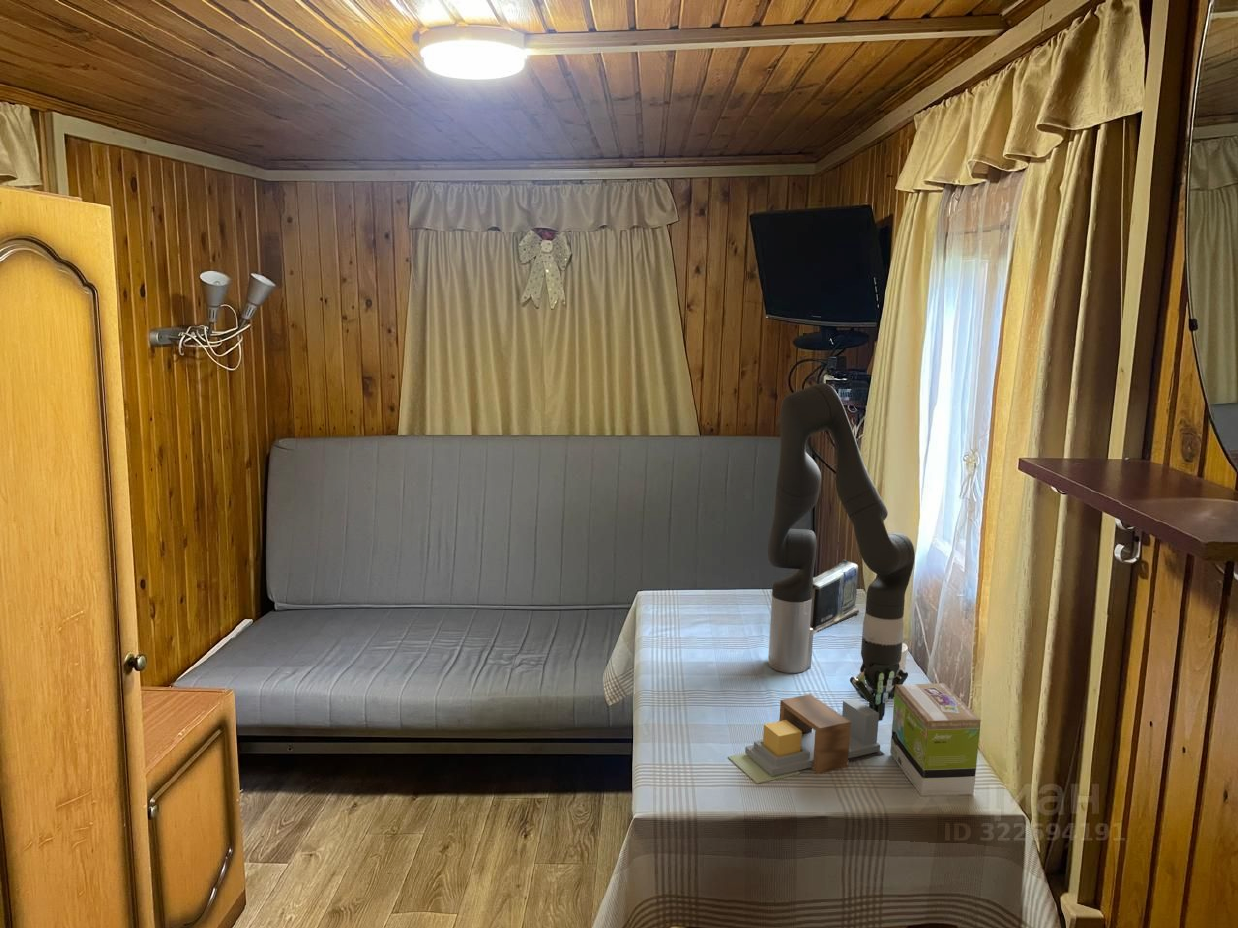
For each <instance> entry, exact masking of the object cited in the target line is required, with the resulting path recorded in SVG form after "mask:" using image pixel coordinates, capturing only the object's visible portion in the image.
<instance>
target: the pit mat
mask: <svg viewBox="0 0 1238 928" xmlns="http://www.w3.org/2000/svg"><path fill="white" fill-rule="evenodd" d="M884 754H885V753H884V752H883V751H882V750H880V751H878V752H874V753H870V754H865V755H861V756H857V757H852V758H848V763H851V762H856V761H861V760H865V759H870V758H873V757H878V756H883V755H884Z"/></svg>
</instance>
